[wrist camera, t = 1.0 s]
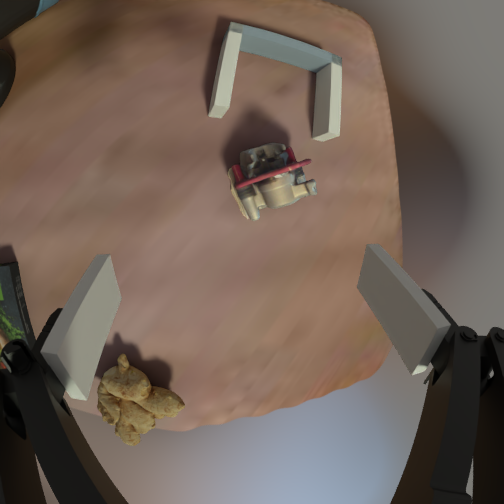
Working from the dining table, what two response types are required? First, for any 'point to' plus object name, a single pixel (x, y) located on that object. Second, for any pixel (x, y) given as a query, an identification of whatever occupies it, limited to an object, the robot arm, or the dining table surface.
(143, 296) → the dining table surface
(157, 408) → the ginger root
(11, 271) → the pizza box
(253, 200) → the brake caliper
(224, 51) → the cradle
